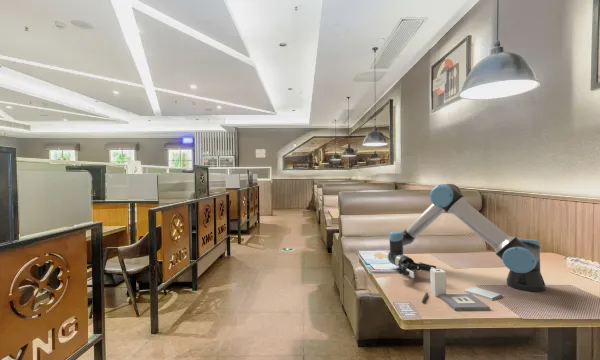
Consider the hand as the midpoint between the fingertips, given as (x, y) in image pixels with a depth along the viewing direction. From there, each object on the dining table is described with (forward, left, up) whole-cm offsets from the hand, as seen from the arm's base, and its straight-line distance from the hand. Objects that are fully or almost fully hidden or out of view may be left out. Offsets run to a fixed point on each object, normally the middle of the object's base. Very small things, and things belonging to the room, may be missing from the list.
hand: (426, 274), depth 146 cm
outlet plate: (-8, +19, -6) cm, 21 cm away
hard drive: (-22, +9, -7) cm, 25 cm away
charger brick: (-2, +9, -6) cm, 11 cm away
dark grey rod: (+6, +14, -6) cm, 16 cm away
